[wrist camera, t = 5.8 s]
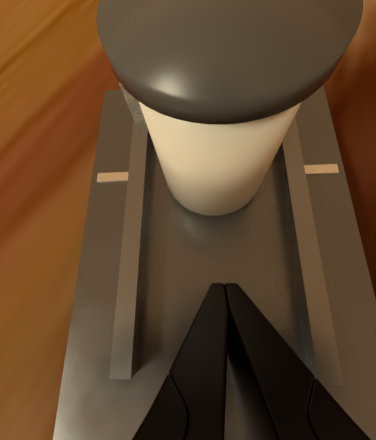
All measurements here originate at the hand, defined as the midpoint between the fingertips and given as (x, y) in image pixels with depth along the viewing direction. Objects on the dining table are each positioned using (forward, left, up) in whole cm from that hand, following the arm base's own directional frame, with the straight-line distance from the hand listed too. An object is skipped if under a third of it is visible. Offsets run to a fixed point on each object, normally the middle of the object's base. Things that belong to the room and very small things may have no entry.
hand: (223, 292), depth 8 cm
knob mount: (+3, +2, -6) cm, 8 cm away
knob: (+6, +5, -5) cm, 9 cm away
